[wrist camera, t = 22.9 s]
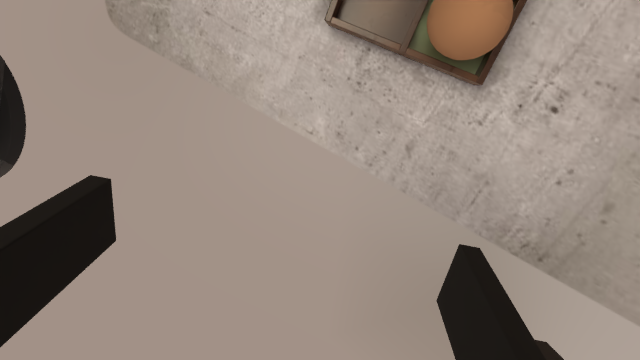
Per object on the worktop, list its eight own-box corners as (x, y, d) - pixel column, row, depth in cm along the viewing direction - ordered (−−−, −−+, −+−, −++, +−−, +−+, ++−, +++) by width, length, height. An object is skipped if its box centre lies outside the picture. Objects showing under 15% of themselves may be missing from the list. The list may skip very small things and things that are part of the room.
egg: (452, -26, 32) (474, -64, 24) (510, 14, 32) (553, -11, 24) (408, 38, 34) (416, 23, 26) (463, 76, 34) (488, 72, 26)
